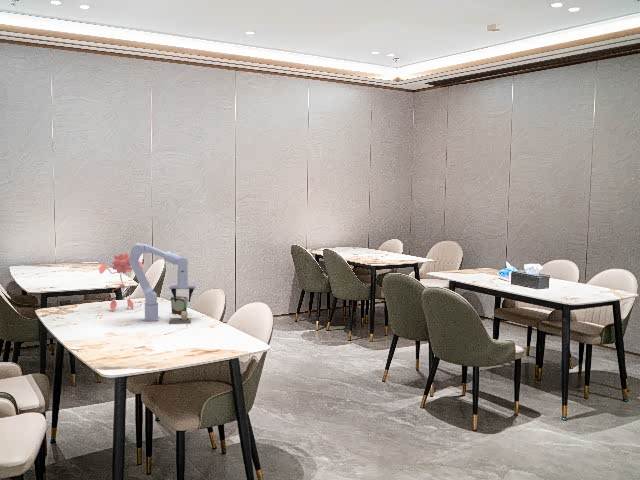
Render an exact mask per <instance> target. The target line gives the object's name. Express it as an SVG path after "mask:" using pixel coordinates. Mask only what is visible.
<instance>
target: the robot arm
mask: <svg viewBox="0 0 640 480" xmlns="http://www.w3.org/2000/svg"><path fill="white" fill-rule="evenodd" d="M142 254H153V255H155V256H158V257H161V258H163V260H164V261H165V262H168V263H169V264H173V265H175V266H177V270H176V271H177V275H176V276H177V285H169V287H168V289H169V290H170V291H171V293H172V297H174V299H175V302H176V296H177V290H188V303H190V302H191V299H192V295H193V292H194V290H196V287H197V286H196V285H193V284H191V285H189V283H188V281H189V277H188V274H189V272H188V271H189V270H188V266H189V262H188V259H187V258H186V257H185V256H182V255H181V254H176V253H174V251H172V250H171V251H163V250H161V249H160V248H157V247H154V246H152V245H149V244H146V243H142V242H135V243H134V244H133V246H132V248H131V249H130V254H129V257H130V258H129V263H130V265H131V266H130V267H131V268H132V271H133V272H134V275H135V277H136V279H137V281H138V283H139V286H140V288H141V289H142V291H143V294H144V296H145V299H144V300H145V302H144V317H143V318H144V319H143V322H154V321H155V322H157V321H159V320H160V316H159V302H158V301H157V300H158V293H157V292H156V291H154V289H153V288H152V286H151V284H150V282H149V279H147V276H146V274H145V272H144V269H143V268H141V266H140V263H139V261H140V258H141V256H142Z"/></svg>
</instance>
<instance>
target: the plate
mask: <svg viewBox="0 0 640 480" xmlns="http://www.w3.org/2000/svg"><path fill="white" fill-rule="evenodd" d="M191 322H192V317H187V320H181V317H170V318H169V320H168V324H169V325H177V324H178V325H181V324H182V325H183V324H185V325H186V324H191Z"/></svg>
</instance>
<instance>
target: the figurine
mask: <svg viewBox="0 0 640 480" xmlns="http://www.w3.org/2000/svg"><path fill="white" fill-rule="evenodd" d="M113 258H114V260H113V261H112V262H111V263H112V265H113V266H112V269H113V270H116V271H115V272H112V271H111V270H110V269H109V268H108V266H107V265H106V263H103V264H101V265H100V266H99V269H98V272H99V274H103V273H104V272H105V271H106V269H107V270H108V272H109V273H110V274H111V275H113V274H116V273H117V274H120V276H119V277H120V280H121V284H119V286H118V287H116V288H115V289H113V290H112V292H111V293H114V291H115V290H117V289H120V288H121V289H124V288H126V289H128V290H130V287H127V286H125V284H124V283H123V278H122V273H123V274H126V273H127V272H129V273H130V272H131V271H133V269H132V267H131V265H130V263H129V258H130V256H129V254H128V252H125V253H124V254H123V253H119V255H118V254H115V255H114V257H113ZM138 261H139V263H140V266H141V268H142V270H145V266H144V264H143V263H142V262H141V261H140V260H138ZM128 293H129V295H128V296H129V298H128V299H127V301H126V302H127V309H129V308H131V309H132V310H134V302H133V301H132V300H131V291H129V292H128ZM114 297H115V296H114V295H112V300H111V301H110V304H109V308H110V310H111V312H113V311H115V309H117V305H118V303H117V300H115V298H114ZM139 311H141V310H136V311H135V313H137V312H139ZM129 314H131V312H129Z"/></svg>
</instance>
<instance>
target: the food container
mask: <svg viewBox="0 0 640 480" xmlns="http://www.w3.org/2000/svg"><path fill="white" fill-rule="evenodd" d="M169 298H170V299H169V300H170V304H171V305H170V307H171V314H172V315H176V314H178V315H177V316H181V311H188V310H187V309H188V303H189V297H187V296H181V295H178V296H177V295H176V302H175V299H174V296H170V297H169Z"/></svg>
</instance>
